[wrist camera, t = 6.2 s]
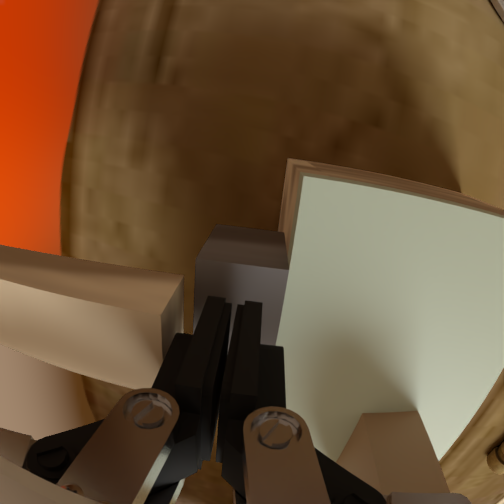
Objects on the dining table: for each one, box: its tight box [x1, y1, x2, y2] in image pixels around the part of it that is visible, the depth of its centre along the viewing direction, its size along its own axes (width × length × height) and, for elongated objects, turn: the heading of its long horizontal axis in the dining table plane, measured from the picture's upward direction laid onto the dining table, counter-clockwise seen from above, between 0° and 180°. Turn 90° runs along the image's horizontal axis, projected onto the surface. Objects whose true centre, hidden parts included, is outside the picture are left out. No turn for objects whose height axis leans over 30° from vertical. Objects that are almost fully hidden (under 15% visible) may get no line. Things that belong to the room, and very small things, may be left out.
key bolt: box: [0, 245, 184, 389], centre depth 10 cm, size 3×9×2 cm, turn 84°
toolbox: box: [193, 158, 504, 350], centre depth 18 cm, size 24×15×9 cm, turn 174°
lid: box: [276, 172, 504, 495], centre depth 11 cm, size 24×12×7 cm, turn 174°
